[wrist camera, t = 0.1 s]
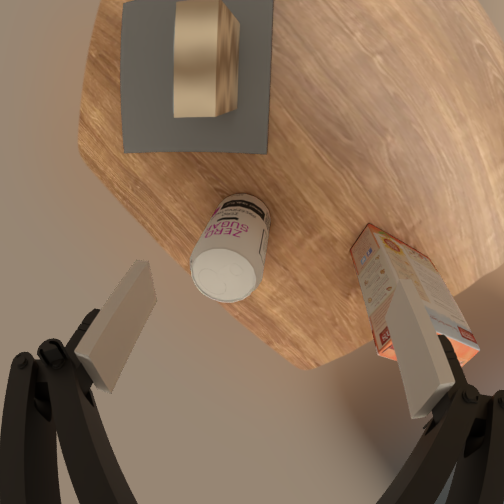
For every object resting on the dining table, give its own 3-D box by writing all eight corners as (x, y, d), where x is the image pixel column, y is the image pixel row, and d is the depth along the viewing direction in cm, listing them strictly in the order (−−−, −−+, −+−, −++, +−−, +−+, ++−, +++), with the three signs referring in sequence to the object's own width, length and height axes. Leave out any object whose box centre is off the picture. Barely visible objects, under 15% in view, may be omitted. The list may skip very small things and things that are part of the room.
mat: (126, 4, 28) (123, 3, 27) (273, -12, 26) (273, -15, 25) (127, 151, 40) (124, 153, 39) (267, 152, 38) (266, 154, 38)
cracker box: (347, 251, 45) (374, 357, 27) (368, 220, 42) (413, 318, 24) (409, 284, 46) (449, 380, 29) (430, 258, 43) (483, 350, 25)
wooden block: (207, 24, 29) (173, 2, 19) (239, 23, 29) (218, -3, 18) (205, 108, 35) (171, 117, 25) (237, 108, 35) (215, 116, 25)
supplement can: (237, 250, 47) (217, 316, 34) (205, 209, 44) (170, 264, 31) (281, 226, 44) (276, 289, 31) (249, 181, 41) (230, 228, 28)
